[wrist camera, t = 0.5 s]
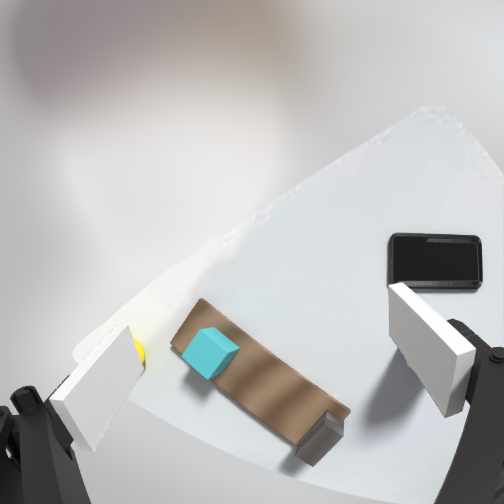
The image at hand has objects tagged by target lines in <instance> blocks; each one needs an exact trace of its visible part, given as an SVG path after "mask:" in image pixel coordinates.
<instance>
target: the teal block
mask: <svg viewBox="0 0 504 504" xmlns="http://www.w3.org/2000/svg"><path fill="white" fill-rule="evenodd" d="M239 349H240V348H239V347H238V346H237V345H236V344H234V343H233V342H232V341H231V340H229V339H228V338H227V337H226V336H225V335H223V334H222V333H221V332H220V331H218V330H217V329H216V328H215V327H212V328H205V329H200V330H199V331H198V333H197V334H196V336H195V337H194V339H193V340H192V341H191V343H190V344H189V346H188V347H187V349H186V350H185V351H184V353H183V354H182V356H181V357H182V358H183V359H184V360H185V361H186V362H188V363H189V364H190V365H191V366H192V367H193V368H194V369H195V370H197V371H198V372H199V373H200V374H201V375H202V376H203V377H205V378H206V379H207V380H209V379H211V378H213V377H215V376H217V375H219V374H221V373H222V372H223V370H224V369H225V368H226V366H227V365H228V364H229V362H230V361H231V360H232V358H233V357H234V356H235V354H236V353H237V352H238V350H239Z"/></svg>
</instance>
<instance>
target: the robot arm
mask: <svg viewBox="0 0 504 504" xmlns="http://www.w3.org/2000/svg"><path fill="white" fill-rule="evenodd" d="M388 294H389V336H390V337H391V338H392V340H393V341H394V343H395V344H396V346H397V347H398V348H399V350H400V351H401V353H402V354H403V356H404V357H405V359H406V360H407V362H408V363H409V364H410V366H411V367H412V369H413V370H414V372H415V373H416V375H417V376H418V378H419V379H420V381H421V382H422V384H423V385H424V387H425V388H426V390H427V391H428V393H429V395H430V396H431V398H432V399H433V401H434V402H435V404H436V405H437V407H438V409H439V410H440V412H441V413H442V415H443V416H444V418H447V417H449V416H452V415H454V414H457V413H459V412H462V410H463V406H464V403H465V399H466V400H467V402H468V403H469V404H470V409H469V412H468V416H467V419H466V422H465V425H464V429H463V432H462V435H461V438H460V441H459V444H458V447H457V450H456V453H455V455H454V458H453V461H452V463H451V466H450V468H449V471H448V473H447V475H446V478H445V480H444V483H443V485H442V487H441V489H440V491H439V494H438V496H437V498H436V500H435V502H434V504H504V348H503V347H493V348H491V347H490V346H489V345H488V344H487V343H486V342H484V341H483V340H482V339H481V338H480V337H479V336H478V335H476V334H475V333H474V332H473V331H472V330H471V329H470V330H469V328H468V327H467V326H466V325H465V324H464V323H463V322H460V321H458V320H455V319H450V320H447V321H446V320H445V319H444V318H443V317H442V316H440V315H439V314H438V313H437V312H436V311H435V310H434V309H433V308H431V307H430V306H429V305H428V304H427V303H426V302H425V301H423V300H422V299H421V298H420V297H419V296H418V295H417V294H415V293H414V292H413V291H412V290H411V289H410V288H408V287H407V286H406V285H405V284H404V283H402V282H401V283H397V284H392V285H388ZM143 370H144V367H143V364H142V362H141V359H140V357H139V354H138V351H137V348H136V346H135V343H134V340H133V337H132V335H131V332H130V329H129V326H128V325H119V326H115V327H114V328H113V330H112V331H111V332H110V333H109V334H108V335H107V336H106V337H105V338H104V339H103V340H102V341H101V342H100V343H99V344H98V345H97V346H96V348H95V349H94V350H93V351H92V352H91V353H90V354H89V355H88V356H87V357H86V358H85V359H84V360H83V362H82V363H81V364H80V365H79V366H78V367H77V368H76V369H75V370H74V371H73V372H72V374H70V375H69V376H67V377H66V378H65V379H64V381H63V382H62V384H60V385H59V386H58V387H57V389H55V391H54V392H53V393H52V394H51V395H50V396H49V397H48V398H47V399H46V401H45V402H44V403H43V401H42V399H41V398H40V396H39V394H38V392H37V390H36V388H35V387H34V386H25V387H22V388H20V389H18V390H16V391H15V392H14V393H13V394H12V395H11V397H10V399H11V401H12V403H13V405H14V406H15V408H16V410H17V411H18V413H19V415H12V414H11V412H10V410H9V409H8V407H6V406H0V504H91V502H90V499H89V497H88V494H87V491H86V488H85V485H84V482H83V479H82V476H81V473H80V470H79V467H78V463H77V460H76V457H75V453H74V451H73V449H72V448H71V446H70V445H71V443H72V442H73V440H74V441H75V443H76V444H77V446H78V447H79V449H80V450H84V451H89V452H95V451H96V449H97V447H98V445H99V444H100V442H101V440H102V439H103V437H104V435H105V433H106V432H107V430H108V428H109V427H110V425H111V423H112V421H113V420H114V418H115V416H116V415H117V413H118V411H119V410H120V408H121V406H122V405H123V403H124V401H125V399H126V398H127V396H128V395H129V393H130V391H131V390H132V388H133V386H134V385H135V383H136V381H137V380H138V378H139V377H140V375H141V373H142V372H143ZM6 448H7V450H8V451H9V452H10V454H11V457H10V458H9V457H8V455H7V453H6Z"/></svg>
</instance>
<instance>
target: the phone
mask: <svg viewBox="0 0 504 504" xmlns="http://www.w3.org/2000/svg"><path fill="white" fill-rule="evenodd" d="M482 281H483V268H482V243H481V240H480V238H479V237H478V236H475V235H454V234H424V233H394V234H393V235H392V236H391V237H390V240H389V283H390V285H392V284H397V283H401V282H402V283H404V284H405V285H406V286H407V287H408V288H410V289H477V288H479V287H480V286H481V285H482Z"/></svg>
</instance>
